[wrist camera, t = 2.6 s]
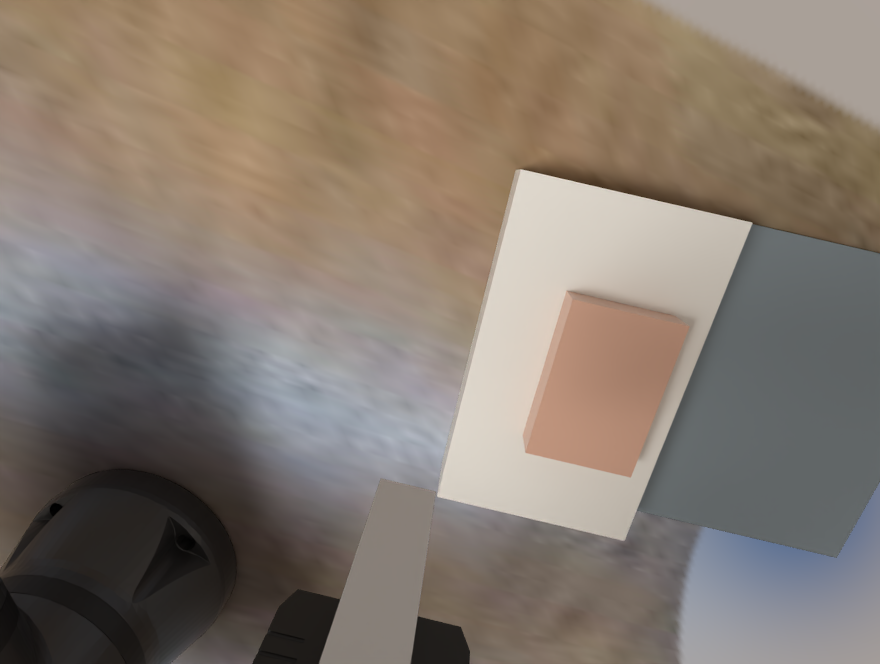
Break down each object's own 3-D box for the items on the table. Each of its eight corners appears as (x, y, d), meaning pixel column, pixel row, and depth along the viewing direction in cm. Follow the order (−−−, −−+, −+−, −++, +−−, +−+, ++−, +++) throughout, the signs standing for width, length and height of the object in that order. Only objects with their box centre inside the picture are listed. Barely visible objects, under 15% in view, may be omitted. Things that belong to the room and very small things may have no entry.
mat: (833, 554, 36) (836, 557, 35) (609, 501, 36) (610, 504, 35) (989, 278, 30) (994, 279, 29) (718, 216, 30) (720, 216, 29)
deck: (609, 501, 36) (624, 540, 32) (441, 462, 36) (437, 496, 32) (718, 216, 30) (752, 222, 26) (515, 169, 30) (520, 169, 26)
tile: (621, 458, 30) (631, 477, 28) (522, 435, 30) (525, 452, 28) (675, 316, 28) (689, 326, 26) (566, 290, 28) (572, 299, 26)
